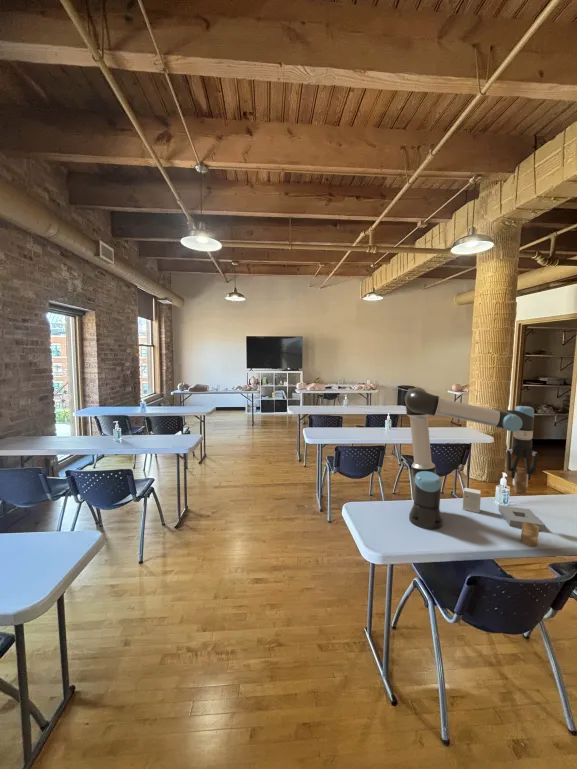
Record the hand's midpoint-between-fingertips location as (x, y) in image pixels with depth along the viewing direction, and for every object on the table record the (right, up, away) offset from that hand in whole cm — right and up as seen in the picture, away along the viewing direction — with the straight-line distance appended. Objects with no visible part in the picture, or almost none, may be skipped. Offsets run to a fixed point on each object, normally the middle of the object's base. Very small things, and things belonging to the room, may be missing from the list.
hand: (519, 485), depth 164 cm
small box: (-15, -18, +16) cm, 29 cm away
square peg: (0, -4, 0) cm, 4 cm away
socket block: (+4, -19, +6) cm, 20 cm away
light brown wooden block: (-7, -20, -16) cm, 27 cm away
